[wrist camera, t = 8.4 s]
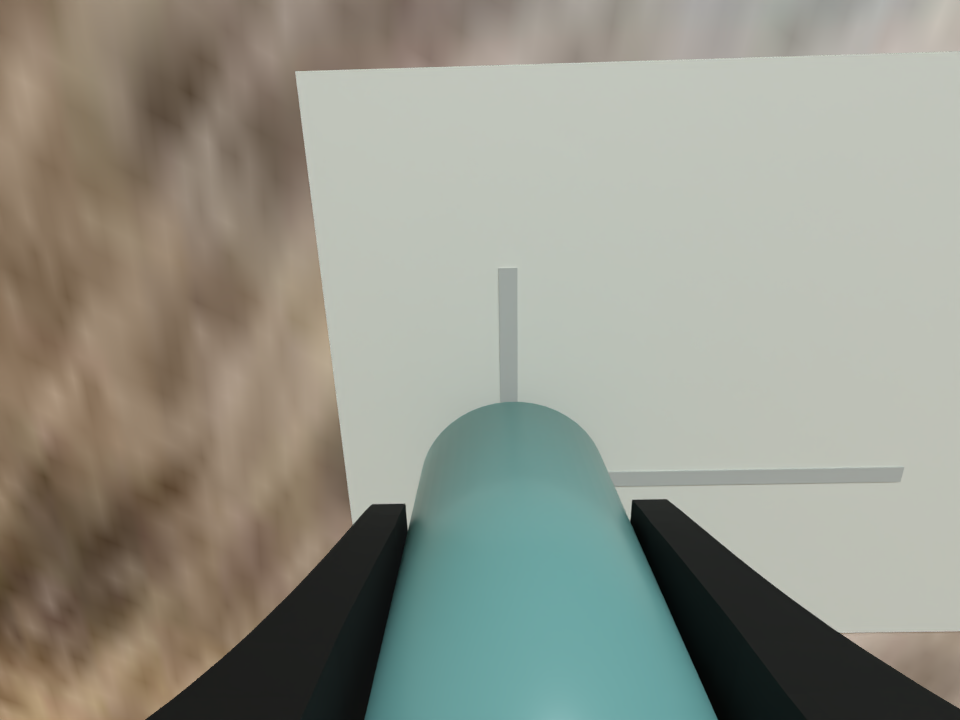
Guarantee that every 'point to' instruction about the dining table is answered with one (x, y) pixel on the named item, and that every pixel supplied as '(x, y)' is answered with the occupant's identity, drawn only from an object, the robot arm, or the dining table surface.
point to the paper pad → (668, 295)
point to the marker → (527, 587)
